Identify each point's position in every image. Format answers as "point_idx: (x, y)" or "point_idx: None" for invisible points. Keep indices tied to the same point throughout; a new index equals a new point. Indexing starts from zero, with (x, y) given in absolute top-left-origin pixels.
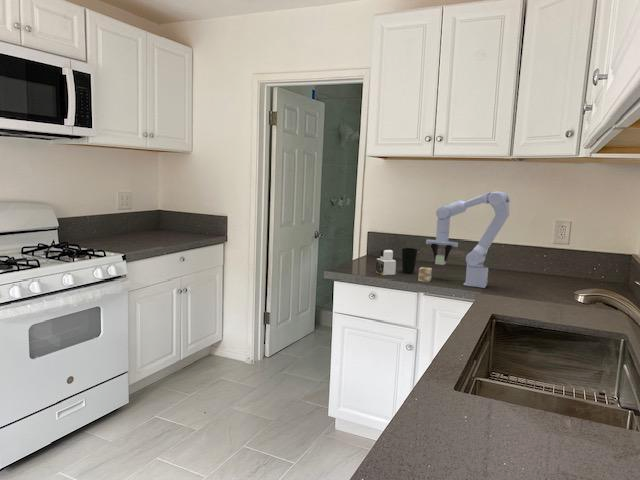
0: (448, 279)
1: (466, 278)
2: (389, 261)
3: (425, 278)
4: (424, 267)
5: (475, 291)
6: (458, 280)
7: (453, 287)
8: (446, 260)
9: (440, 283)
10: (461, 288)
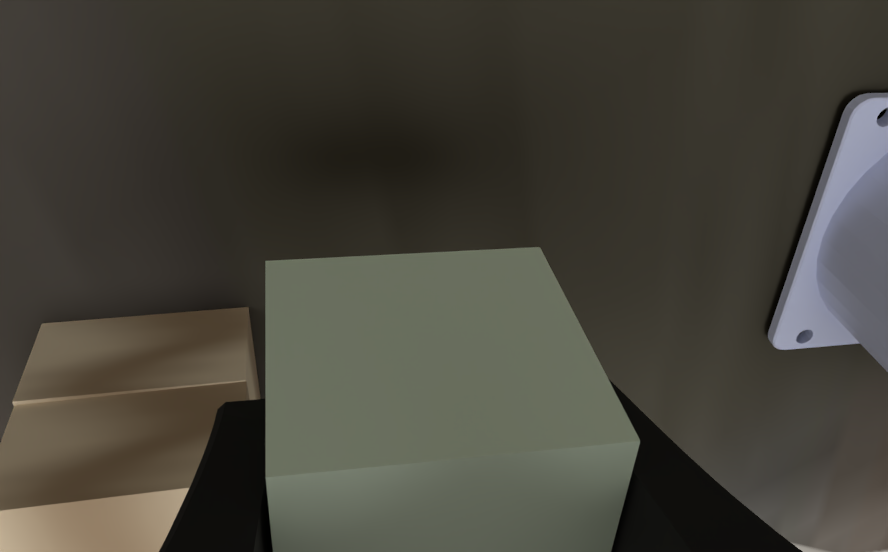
0: (530, 45)
1: (870, 346)
2: None
3: None
4: (68, 519)
5: (861, 498)
6: (724, 15)
7: None
8: None
9: None
10: (721, 476)
